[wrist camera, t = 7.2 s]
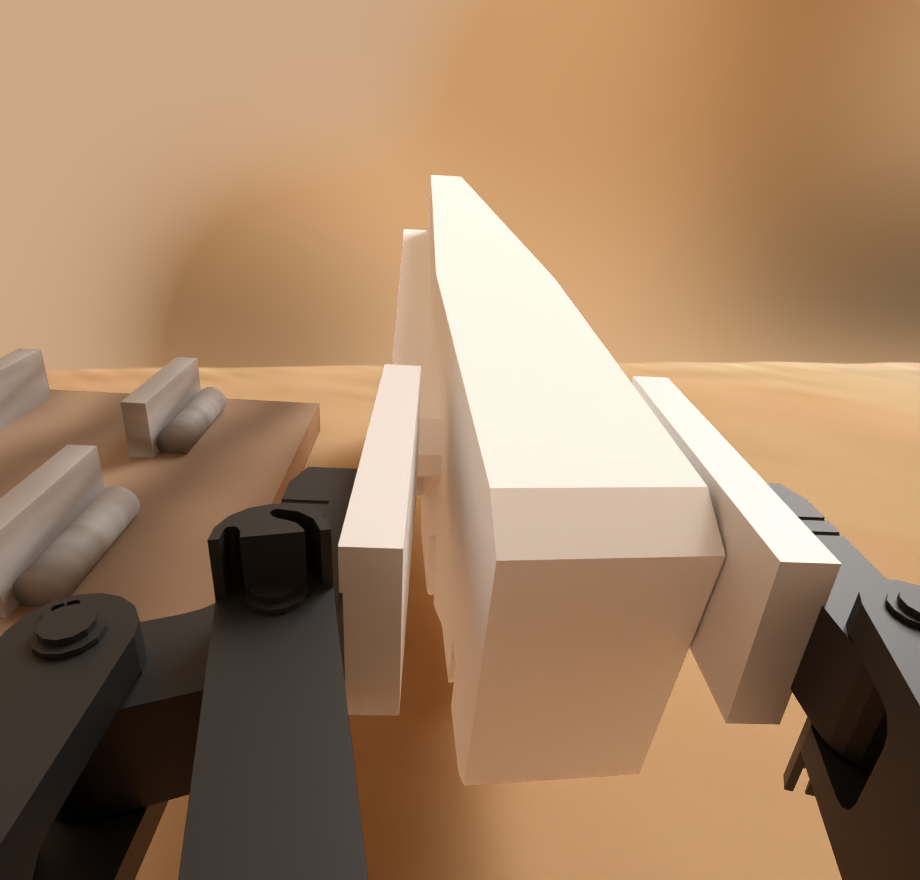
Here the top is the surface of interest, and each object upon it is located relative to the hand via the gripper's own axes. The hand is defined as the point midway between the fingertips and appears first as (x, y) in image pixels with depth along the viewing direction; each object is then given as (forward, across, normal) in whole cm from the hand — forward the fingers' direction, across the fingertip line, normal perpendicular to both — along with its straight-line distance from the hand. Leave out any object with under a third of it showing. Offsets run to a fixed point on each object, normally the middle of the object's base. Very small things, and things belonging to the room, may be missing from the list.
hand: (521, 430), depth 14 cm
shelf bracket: (+7, -1, -7) cm, 10 cm away
